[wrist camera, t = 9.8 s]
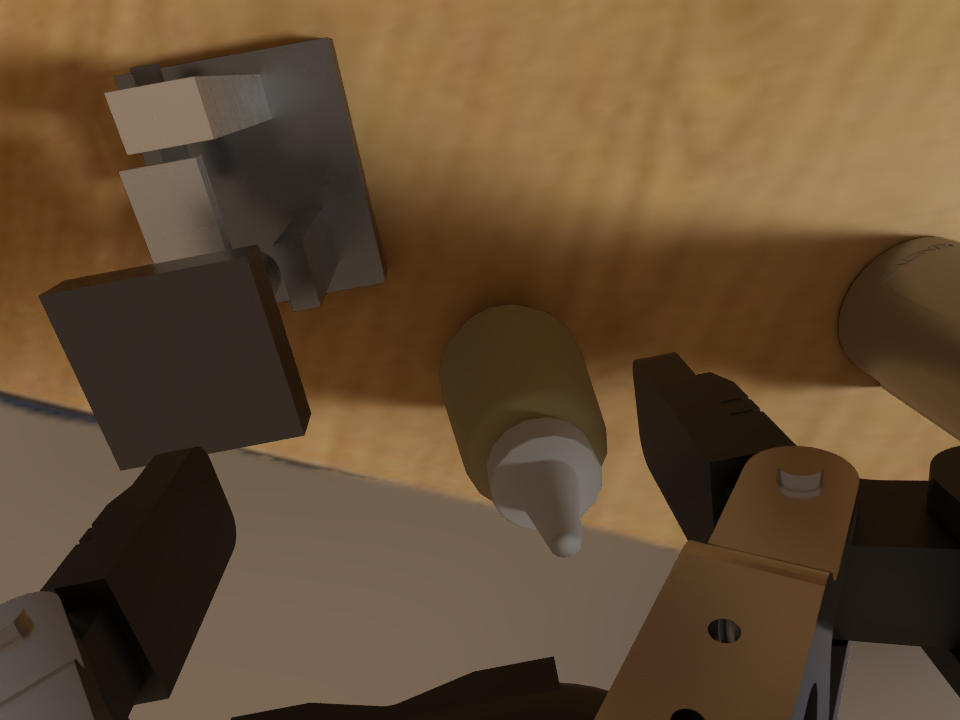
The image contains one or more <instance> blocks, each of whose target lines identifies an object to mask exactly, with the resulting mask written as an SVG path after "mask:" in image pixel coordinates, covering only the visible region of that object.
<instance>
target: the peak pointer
mask: <svg viewBox="0 0 960 720" xmlns="http://www.w3.org/2000/svg"><path fill="white" fill-rule="evenodd" d="M130 70H131V73H132V76H133V79H134V81H135V84H136V87H140V86H145V85H151V84H156V83H161V82H165V81H164V78H163V75H162V72H161V69H160V66H159V64H150V65H145V66H139V67H134V68H130ZM159 152H160V155H161V157H162V160H163V162H167V161H172V160H178V159H183V158H189V157H190V155H189V152H188V149H187V146H186V144H185V145H180V146H174V147H169V148H163V149H159Z"/></svg>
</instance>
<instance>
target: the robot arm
mask: <svg viewBox="0 0 960 720" xmlns="http://www.w3.org/2000/svg"><path fill="white" fill-rule="evenodd" d="M838 328H839V338H840V342H841V345H842V348H843V351H844V353H845V354H846V356H847V357H848V358H849V360H850V361H851V362H852V363H853V364H854V365H855V366H857V367H858V368H859V369H861V370H862V371H863V372H865V373H866V374H868V375H869V376H871V377H872V378H874V379H875V380H877V381H878V382H880V385H881V387H882V388H883V389H884V390H886V391H887V392H889V393H890V394H892V395H893V396H895V397H896V398H898V399H899V400H901V401H902V402H903V403H905V404H906V405H908V406H909V407H911V408H912V409H914V410H915V411H917V412H918V413H920V414H921V415H922V416H924V417H925V418H927V419H928V420H930V421H931V422H933V423H934V424H936V425H937V426H939V427H940V428H941V429H943V430H944V431H946V432H947V433H949V434H950V435H952V436H953V437H955V438H956V439H958V440H959V441H960V242H957V241H954V240H950V239H946V238H941V237H923V238H918V239H914V240H909V241H906V242H904V243H902V244H899V245H897V246H895V247H892V248H891V249H889V250H888V251H886V252H885V253H883V254H881V255H880V256H878V257H877V258H876V259H875V260H874V261H873V262H871V263H870V264H869V265H868V266H867V267H866V268H865V269H864V270H863V271H862V272H861V274H860V275H859V276H858V277H857V279H856V280H855V281H854V282H853V284H852V286H851V288H850V290H849V291H848V293H847V295H846V297H845V300H844V302H843V305H842V308H841V311H840V318H839V326H838ZM633 379H634V388H635V397H636V406H637V416H638V425H639V434H640V441H641V446H642V450H643V454H644V457H645V460H646V463H647V466H648V468H649V470H650V472H651V474H652V475H653V477H654V479H655V481H656V483H657V485H658V487H659V488H660V490H661V492H662V494H663V496H664V498H665V499H666V501H667V503H668V505H669V507H670V509H671V510H672V512H673V514H674V516H675V518H676V520H677V521H678V523H679V525H680V527H681V529H682V531H683V532H684V534H685V536H686V538H687V540H688V542H687V543H686V544H685V545H684V547H683V548H682V550H681V552H680V554H679V556H678V558H677V560H676V561H675V563H674V565H673V567H672V569H671V571H670V573H669V575H668V577H667V579H666V581H665V583H664V585H663V587H662V589H661V591H660V593H659V595H658V596H657V598H656V600H655V602H654V604H653V606H652V608H651V610H650V612H649V614H648V616H647V618H646V620H645V622H644V624H643V626H642V628H641V629H640V631H639V633H638V636H637V637H636V639H635V641H634V643H633V645H632V647H631V649H630V651H629V653H628V655H627V657H626V659H625V661H624V663H623V664H622V667H621V668H620V671H619V672H618V674H617V676H616V678H615V680H614V682H613V684H612V686H611V688H610V690H609V691H607V690H604V689H600V688H596V687H591V686H586V685H580V684H570V683H559V680H558V675H557V670H556V665H555V660H554V656H553V657H548V658H543V659H538V660H533V661H527V662H522V663H517V664H511V665H506V666H501V667H496V668H490V669H486V670H480V671H475V672H472V673H470V674H467V675H465V676H462V677H460V678H458V679H455V680H453V681H451V682H448V683H446V684H444V685H441V686H439V687H436V688H434V689H432V690H429V691H427V692H424V693H422V694H420V695H417V696H415V697H413V698H410V699H408V700H406V701H403V702H401V703H398V704H395V705H391V706H364V705H344V704H324V703H323V704H322V703H306V704H301V705H296V706H290V707H285V708H280V709H275V710H269V711H264V712H259V713H254V714H249V715H243V716H238V717H233V718H231V720H837V719H838V713H839V708H840V703H841V697H842V692H843V687H844V682H845V677H846V671H847V666H848V660H849V656H850V651H851V645H852V641H861V642H873V643H886V644H898V645H910V646H921V647H922V649H923V650H924V651H925V653H926V654H927V656H928V657H929V658H930V659H931V661H932V662H933V663H934V665H935V666H936V667H937V669H938V670H939V671H940V672H941V674H942V675H943V676H944V678H945V679H946V680H947V682H948V683H949V684H950V685H951V687H952V688H953V689H954V691H955V692H956V693H957V694H958V696H959V697H960V446H957V447H953V448H949V449H947V450H944V451H942V452H940V453H938V454H937V455H936V456H935V457H934V458H933V459H932V461H931V464H930V472H929V481H901V480H868V479H860V478H859V476H858V473H857V471H856V469H855V468H854V467H853V466H852V465H851V464H850V463H849V462H848V461H846V460H845V459H844V458H842V457H840V456H838V455H836V454H834V453H831V452H828V451H825V450H822V449H818V448H812V447H805V446H796V445H795V444H794V443H793V442H792V441H791V440H790V439H789V438H788V437H787V436H786V435H785V433H784V432H783V431H782V430H781V429H780V428H779V427H778V426H777V425H776V424H775V423H774V422H773V421H772V420H771V419H770V418H769V417H768V416H767V415H766V414H765V413H764V412H763V411H762V412H760V408H759V407H758V406H757V405H756V404H755V403H754V402H753V401H752V400H751V399H750V400H749V399H748V396H747V395H746V394H745V393H744V392H743V391H742V390H741V389H740V388H739V387H738V386H737V385H736V384H735V383H734V382H732V381H730V380H728V379H725V378H723V377H721V376H718V375H716V374H714V373H711V372H709V373H703V374H698V375H695V373H694V372H693V371H692V370H691V369H690V368H689V367H688V365H687V364H686V363H685V362H684V361H683V360H682V359H681V358H680V356H679V355H678V354H677V353H675V352H673V353H668V354H663V355H658V356H653V357H648V358H643V359H638V360H634V362H633ZM79 542H80V544H78V545H75V547H74V548H73V549H72V550H71V552H70V553H69V555H68V556H67V557H66V558H65V559H64V561H63V562H62V563H61V565H60V566H59V567H58V568H57V570H56V571H55V572H54V574H53V575H52V576H51V578H50V579H49V580H48V581H47V583H46V584H45V585H44V587H43V588H42V589H41V590H40V591H39V592H34V593H28V594H25V595H22V596H18V597H16V598H14V599H11V600H9V601H6V602H5V603H2V604H0V720H130V719H129V717H128V716H129V714H130V712H131V710H132V708H133V706H134V705H136V704H142V703H147V702H152V701H157V700H163V699H167V698H169V697H170V695H171V693H172V690H173V688H174V686H175V683H176V681H177V679H178V676H179V674H180V672H181V670H182V667H183V665H184V663H185V660H186V658H187V656H188V653H189V651H190V649H191V647H192V644H193V642H194V640H195V637H196V635H197V633H198V630H199V628H200V626H201V623H202V621H203V619H204V617H205V614H206V612H207V610H208V608H209V605H210V603H211V601H212V598H213V596H214V594H215V591H216V589H217V587H218V585H219V582H220V580H221V578H222V575H223V573H224V571H225V568H226V566H227V564H228V562H229V559H230V557H231V555H232V552H233V550H234V547H235V543H236V525H235V520H234V517H233V514H232V511H231V509H230V506H229V504H228V501H227V499H226V497H225V494H224V492H223V489H222V487H221V485H220V482H219V480H218V478H217V475H216V473H215V470H214V468H213V466H212V463H211V461H210V458H209V456H208V454H207V453H206V451H205V450H204V449H203V448H201V447H199V446H196V447H191V448H186V449H181V450H176V451H171V452H166V453H161V454H157V455H155V456H154V457H153V458H152V460H151V461H150V462H149V463H148V465H147V466H146V467H145V469H144V470H143V471H142V473H141V474H140V476H139V477H138V478H137V479H136V481H135V482H134V483H133V485H132V486H130V487H129V488H128V489H127V490H125V491H124V492H123V493H122V494H120V495H119V496H118V497H116V498H115V499H114V500H113V501H111V502H110V503H109V504H108V505H107V506H106V507H105V508H104V510H103V511H102V512H101V513H100V515H99V516H98V517H97V519H96V520H95V521H94V522H93V524H92V528H89V529H88V530H87V531H86V533H85V534H84V535H83V537H82V538H81V539H80V540H79Z"/></svg>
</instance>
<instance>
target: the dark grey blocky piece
mask: <svg viewBox="0 0 960 720" xmlns="http://www.w3.org/2000/svg"><path fill="white" fill-rule="evenodd" d="M119 174H120V177H121V179H122V182H123V184H124V187H125V190H126V192H127V195H128V197H129V200H130V203H131V205H132V208H133V210H134V213H135V216H136V218H137V221H138V223H139V226H140V228H141V231H142V234H143V236H144V239H145V241H146V244H147V247H148V249H149V252H150V254H151V257H152V260H153V262H154V264H150V265H145V266H139V267H134V268H129V269H123V270H118V271H113V272H107V273H102V274H97V275H91V276H86V277H81V278H75V279H70V280H65V281H63V282H61V283H59V284H58V285H56V286H54V287H53V288H51V289H49V290H48V291H46V292H44V293H43V294H41V295H39V298H40V300H41V303H42V305H43V307H44V309H45V311H46V313H47V315H48V317H49V320H50V322H51V324H52V326H53V328H54V330H55V332H56V334H57V337H58V339H59V341H60V343H61V345H62V347H63V349H64V351H65V353H66V356H67V358H68V360H69V362H70V364H71V366H72V368H73V370H74V373H75V375H76V377H77V379H78V381H79V383H80V385H81V387H82V390H83V392H84V394H85V396H86V398H87V400H88V402H89V404H90V407H91V409H92V411H93V413H94V415H95V417H96V419H97V421H98V424H99V426H100V428H101V430H102V432H103V434H104V436H105V438H106V441H107V443H108V445H109V447H110V449H111V451H112V453H113V455H114V458H115V460H116V462H117V464H118V466H119V468H120V470H121V471H122V470H127V469H132V468H136V467H142V466H147V465H148V463H149V462H150V461H151V460H152V458H153V457H154V456H155V455H157V454H161V453H166V452H171V451H176V450H181V449H186V448H191V447H196V446H199V447H201V448H203V449H204V450H205V451H206V453H207V454H210V453H216V452H221V451H226V450H231V449H236V448H242V447H247V446H252V445H257V444H262V443H268V442H273V441H278V440H283V439H289V438H294V437H299V436H304V435H305V432H306V429H307V426H308V422H309V419H310V416H311V411H310V408H309V405H308V401H307V398H306V395H305V392H304V389H303V386H302V382H301V379H300V376H299V373H298V370H297V366H296V363H295V360H294V357H293V354H292V350H291V347H290V344H289V341H288V338H287V335H286V331H285V328H284V325H283V322H282V319H281V315H280V312H279V309H278V306H277V303H276V300H275V295H276V293H277V292H278V290H279V288H280V285H281V281H282V276H281V271H280V268H279V266H278V264H277V263H276V261H275V260H274V259H273V258H272V257H271V256H269V255H268V254H266V253H264V252H262V251H260V249H259V245H258V244H257V245H251V246H246V247H241V248H235V249H232V246H231V243H230V240H229V237H228V234H227V231H226V228H225V224H224V221H223V218H222V215H221V212H220V209H219V206H218V203H217V200H216V197H215V194H214V191H213V188H212V185H211V182H210V179H209V176H208V173H207V170H206V167H205V164H204V161H203V158H202V155H199V156H194V157H189V158H183V159H178V160H172V161H167V162H162V163H156V164H151V165H146V166H140V167H135V168H129V169H125V170H123V171H120V172H119Z"/></svg>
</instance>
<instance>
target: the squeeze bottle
mask: <svg viewBox="0 0 960 720" xmlns="http://www.w3.org/2000/svg"><path fill="white" fill-rule="evenodd" d="M439 378H440V384H441V391H442V397H443V401H444V404H445V407H446V410H447V413H448V416H449V420H450V423H451V426H452V429H453V432H454V435H455V439H456V442H457V445H458V448H459V451H460V454H461V458H462V461H463V464H464V467H465V470H466V473H467V475H468V476H469V478H470V479H471V481H472V482H473V484H474V485H475V487H476V488H477V490H478V491H479V493H480V494H482V495H483V496H485V497H487V498H488V499H490V500H492V502H493V503H494V505H495V506H496V508H497V509H498V510H499V512H500V514H501V515H502V517H504V518H506V519H507V520H509V521H511V522H512V523H514V524H515V525H517V526H519V527H523V528H528V529H534V530H538V531H539V533H540V535H541V536H542V537H543V539H544V541H545V542H546V544H547V545H548V547H549V548H550V549H551V551H552V553H553V554H555V555H556V556H559V557H569V556H572V555H574V554H576V553H577V551H579V550H580V547H581V545H582V537H581V516H582V515H583V514H584V513H585V512H586V511H587V510H588V509H589V508H590V507H591V506H592V505H593V504H594V503H595V501H596V498H597V496H598V493H599V491H600V489H601V486H602V474H601V466H602V464H603V462H604V459H605V457H606V454H607V438H606V427H605V423H604V420H603V417H602V414H601V411H600V408H599V405H598V402H597V399H596V396H595V393H594V390H593V386H592V383H591V380H590V377H589V374H588V371H587V368H586V365H585V362H584V359H583V356H582V352H581V350H580V348H579V347H578V345H577V343H576V341H575V339H574V337H573V335H572V333H571V332H570V330H569V328H567V327H566V326H565V325H563V324H562V323H561V322H559V321H558V320H557V319H555V318H554V317H553V316H552V315H550V314H549V313H548V312H544V311H540V310H536V309H532V308H528V307H524V306H520V305H512V304H507V305H499V306H492V307H488V308H486V309H485V310H483V311H481V312H479V313H477V314H476V315H474V316H472V317H471V318H470V319H469V320H468V321H467V322H465V323H464V324H463V326H462V327H461V328H460V329H459V331H458V332H457V333H456V334H455V335H454V337H453V338H452V339H451V340H450V342H449V343H448V344H447V345H446V348H445V351H444V355H443V358H442V361H441V365H440V368H439Z"/></svg>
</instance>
